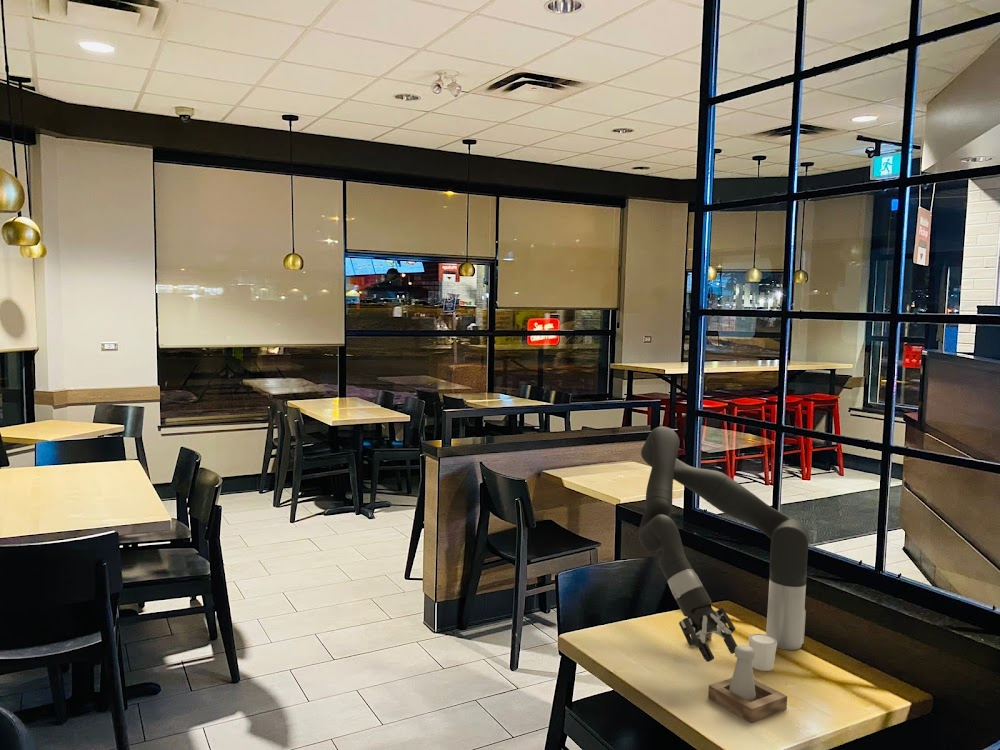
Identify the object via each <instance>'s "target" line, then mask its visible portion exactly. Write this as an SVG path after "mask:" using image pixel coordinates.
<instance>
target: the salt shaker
mask: <svg viewBox="0 0 1000 750" xmlns="http://www.w3.org/2000/svg"><path fill="white" fill-rule="evenodd" d="M734 655H735V657H736V662H735V665H734V669H733V673H732V676H731V678H732V680H731V683H730V687H729V691H731V692H733V693H734V694H736V695H738V696H740V697H742V698H744V699H745V700H747V701H749V702H752V701H755V699H756V698H755V697H756V692H755V684H754V679H755V677H754V668H753V667H752V660H753V659H754V656H755V653H754V649H753V648H752V647H750V646H749V645H747V644H737V646H736V647H735V653H734Z"/></svg>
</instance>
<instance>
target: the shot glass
mask: <svg viewBox="0 0 1000 750" xmlns="http://www.w3.org/2000/svg"><path fill="white" fill-rule="evenodd" d="M748 646H750V647H752V648H753V649H754V653H755V656H754V659H753V660H752V668H753V669H755V670H758V671H763V672H766V671H767V672H768V671H772V670H773V669H774V665H775V658H776V652H777V648H778V647H777V640H776V639H775V638H773V637H771V636H768V635H766V633H752V634H750V635H749V636H748Z"/></svg>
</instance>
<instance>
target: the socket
mask: <svg viewBox="0 0 1000 750" xmlns="http://www.w3.org/2000/svg"><path fill="white" fill-rule="evenodd" d="M731 680H732V677H731V678H727V679H724V680H721V681H718V682H715V683H712V684H709V685H708V693H707V694H708V696H707V697H708V699H709V700H711V701H713V702H715V703H716V704H718V705H720V706H721V707H723V708H725V709H727V710H729V711H730V712H732V713H734V714H736V716H738V717H740V718H743V719H744V720H746V721H748V722H749V723H753V722H757V721H760V720H762V719H764V718H767V717H769V716H772V715H774V714H777V713H780V712H782V711H784V710H787V705H788V704H787V703H788V695H786V694H785V693H783V692H780V691H779V690H776V689H775V688H773V687H771V686H769V685H766V684H765V683H763V682H761V681H759V680H756V679H755V678H754V684H755V692H756V697H755V699H756V700H755V699H754V701H752V702H749V701H747V700H745V699H744V698H742V697H740V696H738V695H736V694H734V693H733V692H731V691H729V687H730V683H731Z"/></svg>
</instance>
